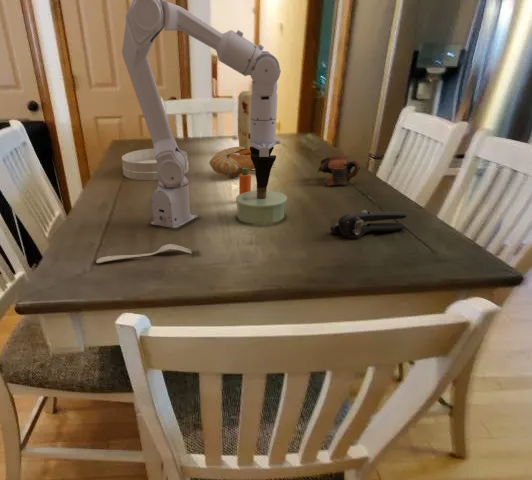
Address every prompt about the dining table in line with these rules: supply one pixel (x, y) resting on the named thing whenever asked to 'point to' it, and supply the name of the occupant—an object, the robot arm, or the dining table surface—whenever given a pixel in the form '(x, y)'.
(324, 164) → the pottery mug
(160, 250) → the fork
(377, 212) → the can opener
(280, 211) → the pot
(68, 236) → the dining table surface
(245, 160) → the nautilus
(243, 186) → the carrot
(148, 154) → the dish
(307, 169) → the dining table surface
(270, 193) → the lid
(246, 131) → the food model
